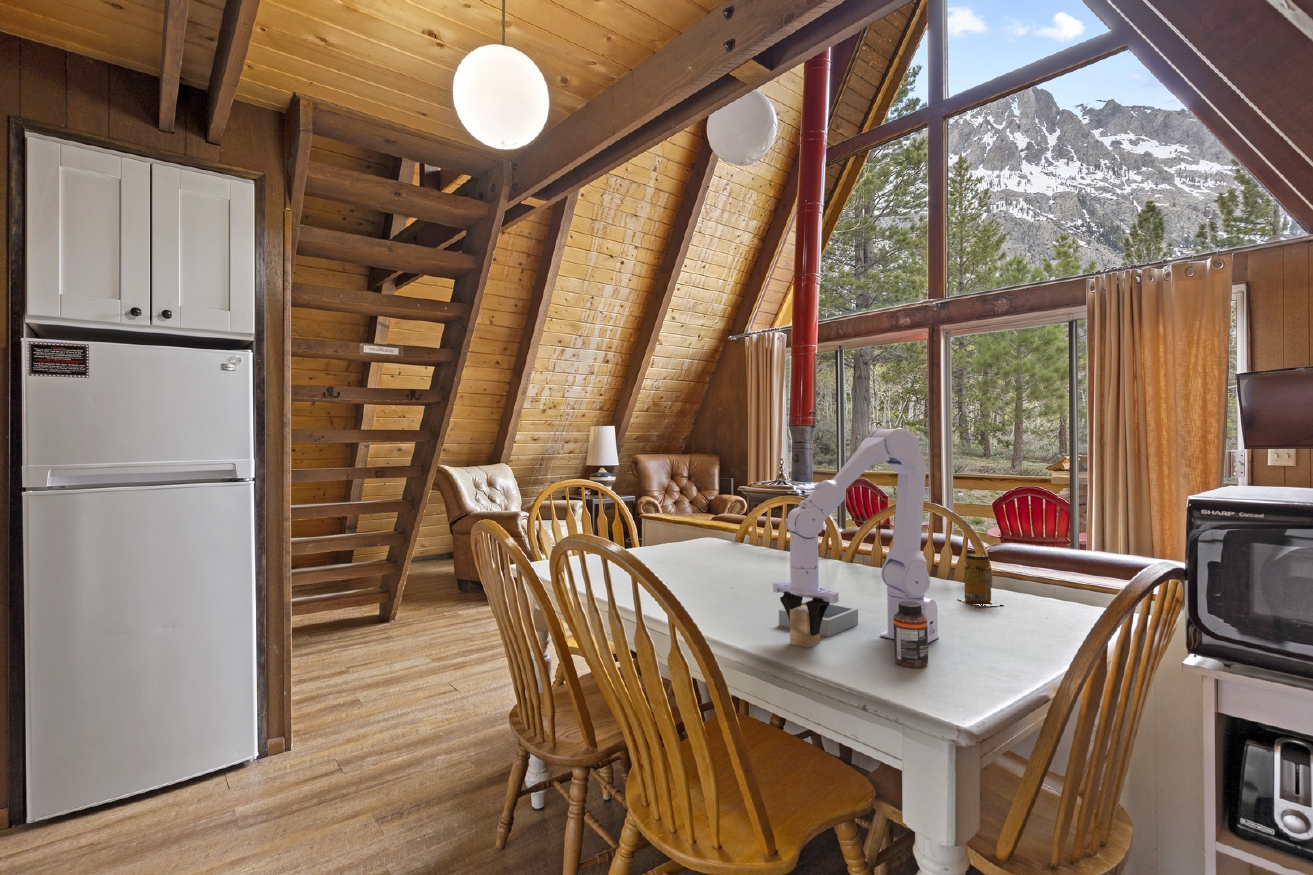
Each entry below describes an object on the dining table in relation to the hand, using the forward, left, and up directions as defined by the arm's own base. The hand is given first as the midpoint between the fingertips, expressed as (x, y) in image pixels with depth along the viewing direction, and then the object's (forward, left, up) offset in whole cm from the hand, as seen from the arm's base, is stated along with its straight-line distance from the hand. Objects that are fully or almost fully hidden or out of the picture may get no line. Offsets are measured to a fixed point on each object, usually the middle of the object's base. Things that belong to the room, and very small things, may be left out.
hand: (805, 632), depth 136 cm
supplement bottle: (-21, -3, -2) cm, 21 cm away
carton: (0, 0, -2) cm, 2 cm away
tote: (+5, -13, -2) cm, 14 cm away
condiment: (-14, -57, -2) cm, 59 cm away
